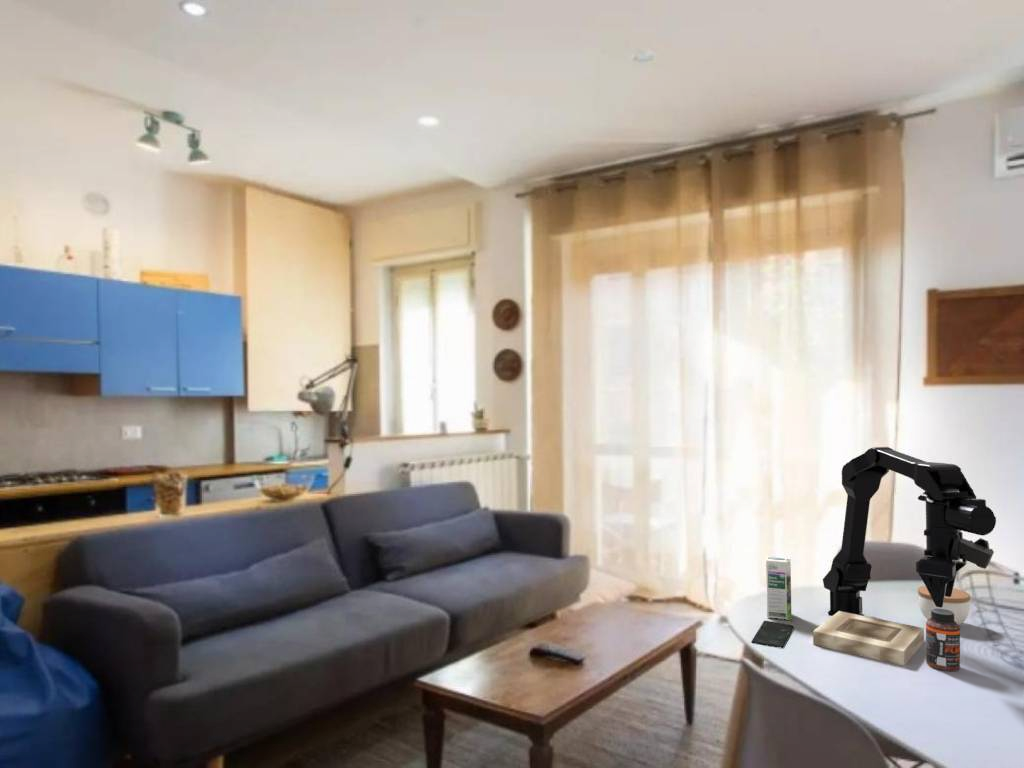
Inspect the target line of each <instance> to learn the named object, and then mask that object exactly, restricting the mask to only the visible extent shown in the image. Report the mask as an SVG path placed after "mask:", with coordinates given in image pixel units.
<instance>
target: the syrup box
mask: <svg viewBox="0 0 1024 768" xmlns="http://www.w3.org/2000/svg"><path fill="white" fill-rule="evenodd" d="M765 565H766V568H765V569H766V617H769V618H768V619H775V618H778V619H777V620H784V619H786V620H787V621H792V575H791V573H792V567H791V557H784V556H770V555H767V556H766V563H765ZM786 620H785V621H786Z"/></svg>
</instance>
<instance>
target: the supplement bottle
mask: <svg viewBox="0 0 1024 768" xmlns="http://www.w3.org/2000/svg"><path fill="white" fill-rule="evenodd" d="M931 616H932V617H931V618H930V619H926V622H925V659H926V660H925V661H926V664H927V665H928V666H930V667H932V668H934V669H937V670H939V671H945V672H956V671H958V670H959V669H960V668H961V633H960V632H961V627H960V625H958V624H957V623H956V622H955V621H954V613H953V612H952V611H949V610H945V609H932V610H931Z"/></svg>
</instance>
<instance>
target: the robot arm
mask: <svg viewBox="0 0 1024 768" xmlns="http://www.w3.org/2000/svg"><path fill="white" fill-rule="evenodd" d="M890 471H892V472H894V473H897V474H899V475H902V476H904V477H907V478H910V479H911V480H913V482H914V485H915V486H917V487H919V489H921V490H923V491H924V492H923V493H922V494H920V495H919V496H918V497H917V499H918V500H919V501H922V502H925V529H924V530H923V536H925V539H926V541H925V542H926V543H925V545H926V548H925V549H924V552H923V553H924V554H923V555H924V556H922V558H920V559H918V560H917V561H916V563H915V567H916V569H915V572H916V573H917V574H918V576H919V577H920V578H921V580H922V583H924V586H926V588H927V589H928V591H929V593H930V595H931V597H932V599H933V601H934V603H935V605H936V607H941V608H942V607H943V602H944V597H945V596H947V597H951V595H952V591H953V588H955V582H956V578H957V576H958V575H957V574H958V572H959V571H961V569H962V568H964V567H965V566H966V565H967V562H969V563H971V564H974V565H976V566H977V567H979V568H981V569H984V570H985V569H987V568H988V566H989V564H990V563H991V559H992V558H993V555H994V553H995V551H994V549H992V548H990V543H989V541H988V540H987V539H984V538H978V539H977V540H975V541H973V540H969V539H966V538H964V536H963V532H967V533H970V534H974V535H978V536H986V535H989V534H991V533H992V532H993V531H994V529H995V527H996V523H997V517H996V516H995V513H994V512H993V510H992V509H991V508H990V507H989V506H987V501H986V499H985V498H984V499H982V498H977V495H976V493H975V492H974V489H973V488H972V487H971V485H970V484H969V482H968V480H967V478H966V476H965V474H964V473H963V472H962V469H961V467H960V466H958V465H957V464H953V463H945V462H932V461H926V460H922V459H920V458H917V457H914V456H911V455H908V454H905V453H903V452H901V451H896V450H895V449H893V448H891V447H888V446H877V447H876V446H875V447H874V446H873V447H870V448H868V449H867V450H866V451H865V452H864V453H862V454H860V455H858V456H856V457H853V458H852V459H851V460H849V461H848V462H846V463H845V464H843V466H842V469H841V485H842V487H843V490H844V491H845V492H846V496H847V498H846V507H845V516H844V524H843V530H842V531H843V533H842V541H841V548H840V550H839V551H838V553H837V554H836V555H835V556H834V557H833V559H832V563H831V567H830V570H828V572H827V574H825V576H824V577H823V578H822V584H823V587H824V589H825V590H828V591H829V610H828V611H827V614H828V615H831V616H833V615H834V614H836V613H837V612H838V611H842V612H847V613H852V614H857V615H862V614H863V597H862V596H860V595H861V592H866V590H867V587H868V583H869V580H871V579H872V578H871V571H872V565H871V563H869V562H868V560H867V559H866V557H865V555H864V552H865V551H864V550H865V544H866V536H867V528H868V519H869V513H870V512H869V511H870V505H871V504H870V503H871V499H872V498H873V497H874V495H875V494H876V493H877V492H878V491H879V489H880V487H881V483H882V479H883V477H885V476H886V475H887V474H888V473H889V472H890ZM959 560H962V561H959Z"/></svg>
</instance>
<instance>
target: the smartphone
mask: <svg viewBox="0 0 1024 768" xmlns="http://www.w3.org/2000/svg"><path fill="white" fill-rule="evenodd" d="M792 629H794V625H793V624H790V623H789V624H788V623H783V622H777V621H770V620H763V622H762V624H761V625H760V627H759V628H758V630H757V631H756V633H755V635H754V637H753V638H752V640H751V643H752V644H754V643H756V644H755V645H761V646H767V645H768V646H767V647H773V646H774V647H773V648H777V647H781V648H780V649H784V648H785V646H786V644H787V642H788V640H789V638H790V636H791V634H792V632H791V631H793V630H792ZM790 633H791V634H790ZM788 637H789V638H788ZM787 639H788V640H787ZM786 641H787V642H786ZM785 643H786V644H785ZM784 645H785V646H784ZM783 647H784V648H783Z"/></svg>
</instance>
